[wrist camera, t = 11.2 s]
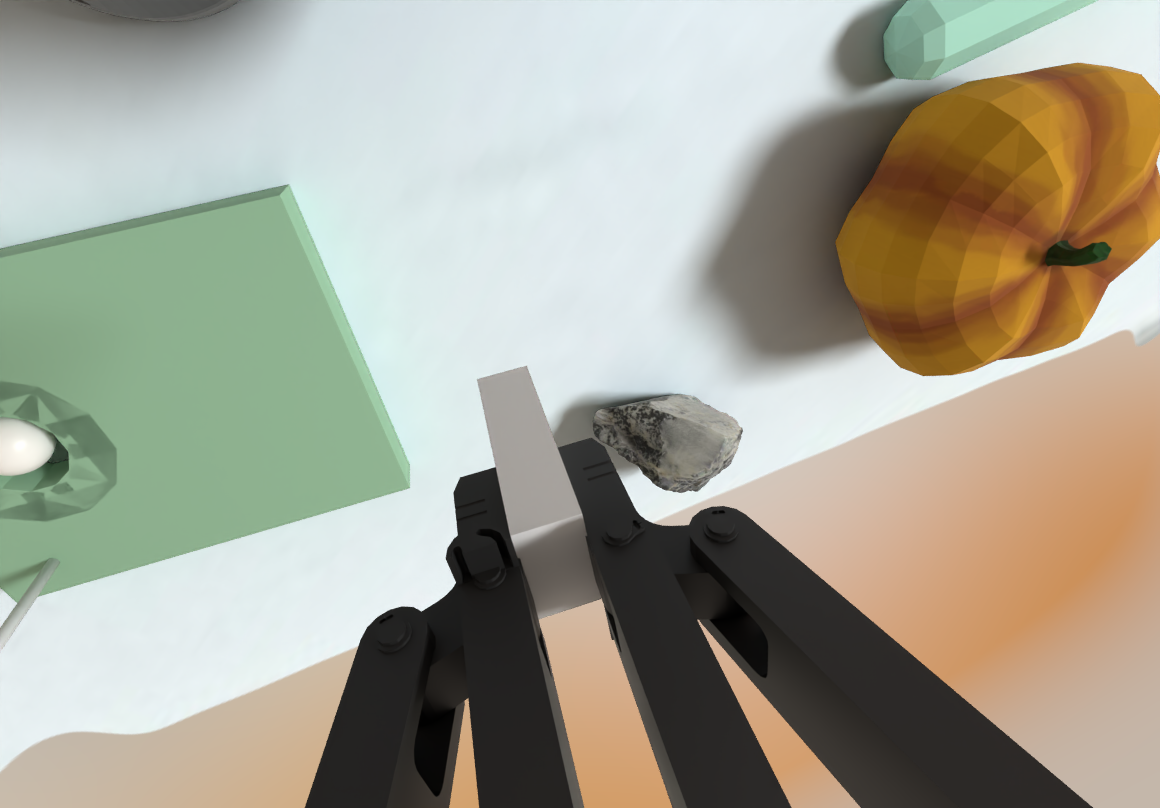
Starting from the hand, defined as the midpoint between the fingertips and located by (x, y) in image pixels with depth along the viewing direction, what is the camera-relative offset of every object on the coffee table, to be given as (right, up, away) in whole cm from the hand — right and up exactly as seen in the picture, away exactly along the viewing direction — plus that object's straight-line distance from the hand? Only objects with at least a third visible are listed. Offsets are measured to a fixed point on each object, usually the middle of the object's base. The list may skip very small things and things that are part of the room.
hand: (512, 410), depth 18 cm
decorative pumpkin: (+30, +16, +29) cm, 44 cm away
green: (-28, 0, +21) cm, 35 cm away
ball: (-33, -2, +19) cm, 38 cm away
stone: (+9, 0, +33) cm, 34 cm away
